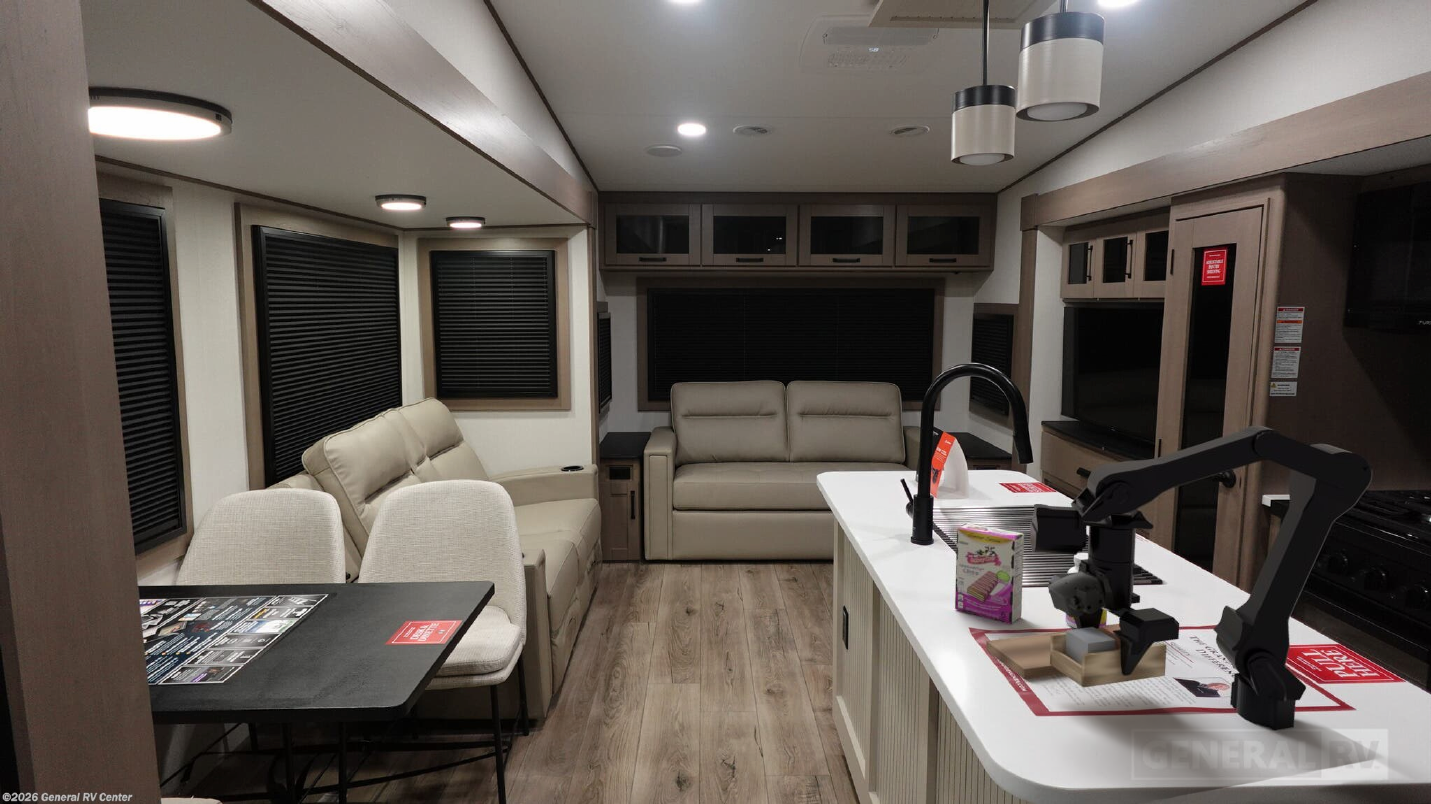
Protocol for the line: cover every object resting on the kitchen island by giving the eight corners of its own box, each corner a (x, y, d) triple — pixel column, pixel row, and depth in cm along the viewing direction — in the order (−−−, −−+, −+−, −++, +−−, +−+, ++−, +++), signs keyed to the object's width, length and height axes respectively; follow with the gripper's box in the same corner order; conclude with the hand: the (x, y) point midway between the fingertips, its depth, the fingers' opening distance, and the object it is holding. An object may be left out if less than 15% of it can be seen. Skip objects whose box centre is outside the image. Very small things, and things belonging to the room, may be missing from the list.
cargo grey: (1114, 667, 101) (1115, 639, 101) (1086, 671, 101) (1088, 643, 100) (1092, 653, 106) (1093, 627, 105) (1065, 657, 105) (1066, 630, 104)
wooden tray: (1126, 653, 109) (1128, 624, 108) (1164, 675, 102) (1166, 645, 101) (1049, 664, 106) (1050, 634, 105) (1083, 687, 99) (1084, 656, 99)
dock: (1109, 676, 114) (1110, 657, 114) (1023, 688, 111) (1024, 669, 110) (1065, 648, 124) (1066, 631, 123) (986, 658, 120) (986, 641, 120)
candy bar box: (953, 610, 140) (955, 527, 138) (965, 602, 144) (966, 521, 142) (1012, 626, 133) (1014, 538, 131) (1022, 617, 136) (1025, 532, 134)
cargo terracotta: (1148, 662, 103) (1150, 635, 102) (1121, 666, 102) (1123, 639, 101) (1125, 649, 107) (1126, 622, 106) (1099, 652, 106) (1100, 626, 106)
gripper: (1018, 541, 109) (1015, 641, 111) (1110, 585, 91) (1105, 703, 93) (1083, 535, 112) (1079, 633, 113) (1185, 577, 94) (1179, 692, 95)
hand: (1106, 662), depth 104 cm, fingers closed on wooden tray, 7 cm apart
